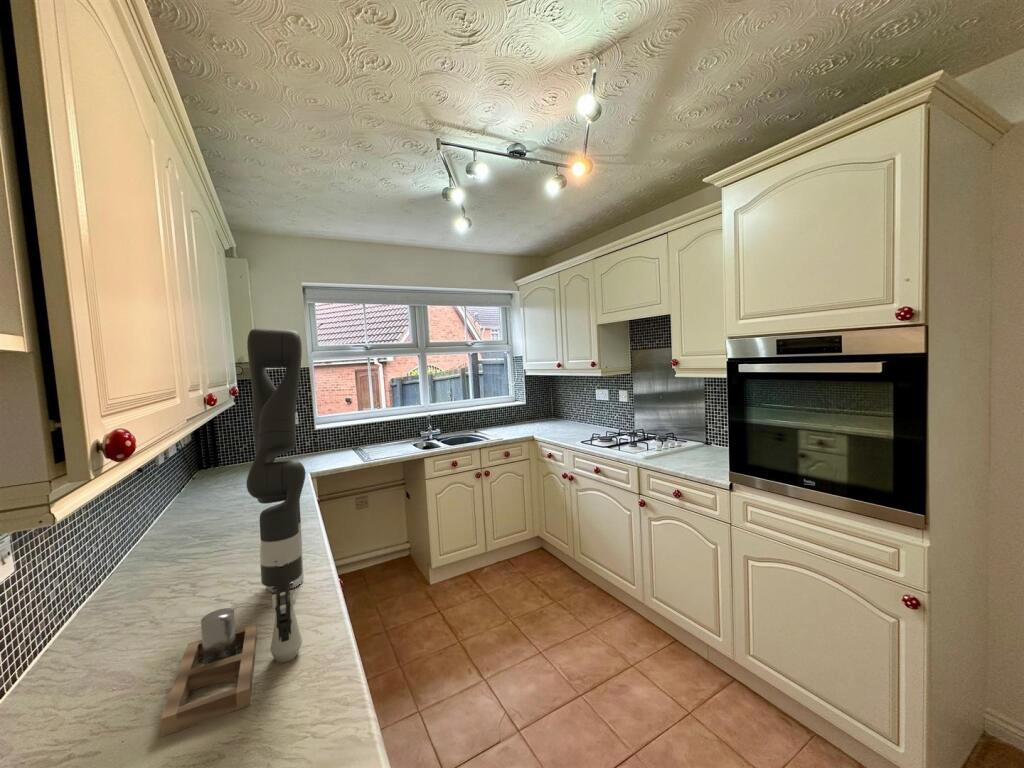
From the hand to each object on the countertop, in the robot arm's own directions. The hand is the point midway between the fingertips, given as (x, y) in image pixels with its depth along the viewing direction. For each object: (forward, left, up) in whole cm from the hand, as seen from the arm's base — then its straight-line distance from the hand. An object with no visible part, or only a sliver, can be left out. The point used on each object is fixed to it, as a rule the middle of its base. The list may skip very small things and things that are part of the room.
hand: (285, 636), depth 87 cm
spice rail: (0, -12, -4) cm, 13 cm away
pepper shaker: (-5, -12, -4) cm, 14 cm away
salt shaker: (0, 0, -4) cm, 4 cm away
